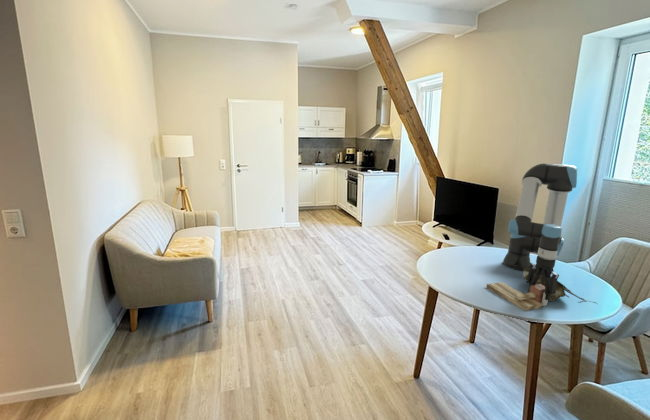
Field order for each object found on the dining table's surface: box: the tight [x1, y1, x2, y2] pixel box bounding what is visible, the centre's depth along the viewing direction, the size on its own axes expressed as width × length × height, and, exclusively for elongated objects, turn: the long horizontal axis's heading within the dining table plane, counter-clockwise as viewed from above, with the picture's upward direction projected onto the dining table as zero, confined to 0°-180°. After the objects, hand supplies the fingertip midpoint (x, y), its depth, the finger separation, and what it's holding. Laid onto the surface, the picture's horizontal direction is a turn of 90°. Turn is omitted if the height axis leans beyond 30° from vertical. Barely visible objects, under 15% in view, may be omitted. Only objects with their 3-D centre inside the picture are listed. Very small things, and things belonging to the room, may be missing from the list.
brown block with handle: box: [515, 284, 545, 304], centre depth 162 cm, size 16×5×8 cm, turn 108°
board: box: [486, 281, 543, 311], centre depth 168 cm, size 10×24×2 cm, turn 18°
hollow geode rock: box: [522, 261, 572, 302], centre depth 176 cm, size 28×13×15 cm
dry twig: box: [563, 287, 597, 304], centre depth 174 cm, size 24×10×2 cm, turn 5°
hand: (537, 301), depth 164 cm, fingers open, 6 cm apart
